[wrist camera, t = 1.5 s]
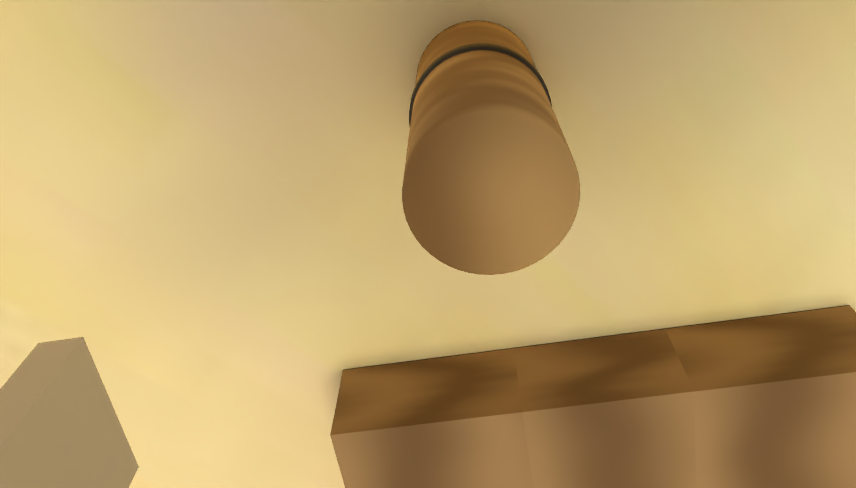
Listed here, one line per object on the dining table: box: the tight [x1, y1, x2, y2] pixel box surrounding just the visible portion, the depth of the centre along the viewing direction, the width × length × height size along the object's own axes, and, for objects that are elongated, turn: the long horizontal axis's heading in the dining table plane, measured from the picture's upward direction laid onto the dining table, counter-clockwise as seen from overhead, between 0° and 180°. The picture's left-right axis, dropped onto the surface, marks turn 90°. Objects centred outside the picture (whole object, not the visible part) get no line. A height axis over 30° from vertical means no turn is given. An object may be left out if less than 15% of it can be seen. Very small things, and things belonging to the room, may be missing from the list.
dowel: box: [402, 21, 580, 275], centre depth 22 cm, size 4×4×10 cm
